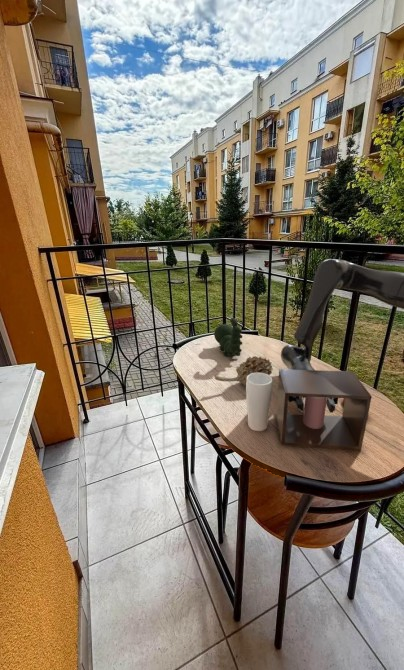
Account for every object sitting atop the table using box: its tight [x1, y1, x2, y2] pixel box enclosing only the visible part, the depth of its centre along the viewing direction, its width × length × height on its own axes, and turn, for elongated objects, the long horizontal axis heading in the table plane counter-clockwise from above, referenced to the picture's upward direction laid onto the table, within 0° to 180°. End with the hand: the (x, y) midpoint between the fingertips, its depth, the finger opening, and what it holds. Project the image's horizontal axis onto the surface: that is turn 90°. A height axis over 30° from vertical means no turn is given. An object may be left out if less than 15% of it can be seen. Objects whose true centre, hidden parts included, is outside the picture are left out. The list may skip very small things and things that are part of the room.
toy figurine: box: [213, 317, 244, 358], centre depth 124 cm, size 9×19×25 cm
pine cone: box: [213, 355, 273, 386], centre depth 97 cm, size 22×10×10 cm, turn 113°
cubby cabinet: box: [275, 368, 373, 452], centre depth 72 cm, size 19×12×15 cm, turn 82°
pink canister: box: [303, 397, 327, 429], centre depth 75 cm, size 5×5×10 cm
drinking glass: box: [245, 373, 273, 432], centre depth 75 cm, size 7×7×15 cm
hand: (317, 408), depth 73 cm, fingers open, 7 cm apart
